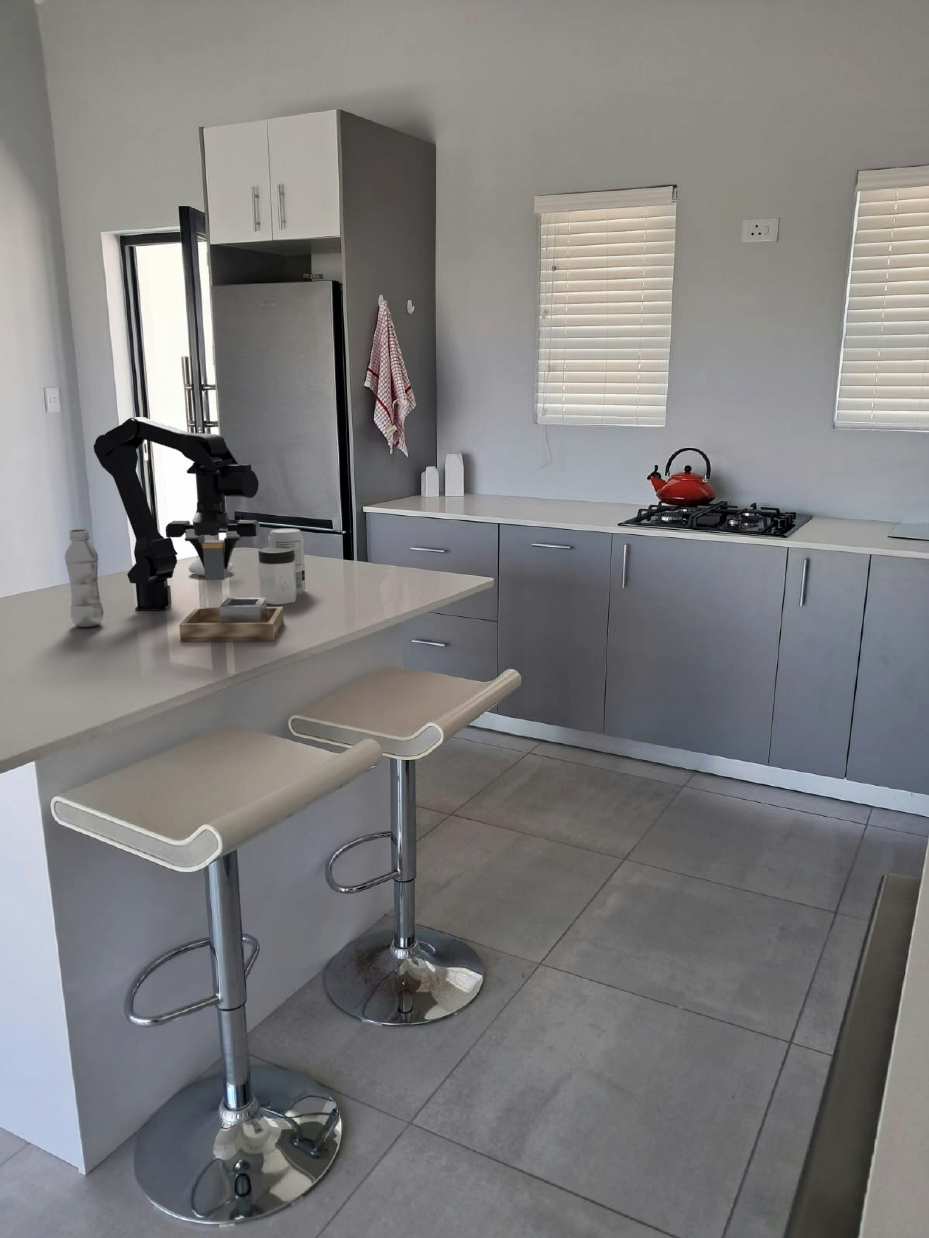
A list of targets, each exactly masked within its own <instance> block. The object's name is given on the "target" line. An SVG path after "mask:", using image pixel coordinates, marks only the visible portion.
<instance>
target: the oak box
mask: <svg viewBox="0 0 929 1238" xmlns="http://www.w3.org/2000/svg"><path fill="white" fill-rule="evenodd" d="M219 607H220V606H219ZM219 607H217V606H216V607H194V609H193V610H192V611H191V612H190V613H189V614H188V615H187V616H186V617H185V618H184V619H183V620H182V621H181V622H180V623H179V626H178V627H179V639H180V643H193V642H194V643H198V642H200V643H207V642H209V643H210V642H211V643H214V642H217V643H218V642H222V643H223V642H228V643H230V642H274V641H275V639H276V637H277V636H278V634H279V632H280V631H281V628H282V627H283V625H284V607H283V606H267V623H220V613H219Z"/></svg>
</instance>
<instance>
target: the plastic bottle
mask: <svg viewBox="0 0 929 1238" xmlns="http://www.w3.org/2000/svg"><path fill="white" fill-rule="evenodd" d="M89 540H90V533H89V529H86V528H77V529H74V528H73V529H70V530H69V541H70V544H69V546H68V547H67V549H66V551H65V554H64V560H65V565H66V569H67V573H68V578H69V583H70V596H71V597H70V601H71V602H70V613H69V615H70V619H71V623H72V624H73V625H75V627H81V628H91V627H95V626H99V625H101V624H102V623H103V621H104V616H105V615H104V614H105V611H104V606H103V603H102V602H101V596H100V590H99V583H98V581H99V580H98V579H99V577H98V570H99V554H98V552H97V550H96V548H95V547H94V546H93V545H92V543H90V542H89Z"/></svg>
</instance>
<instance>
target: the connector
mask: <svg viewBox="0 0 929 1238" xmlns="http://www.w3.org/2000/svg"><path fill="white" fill-rule="evenodd" d="M202 545H203V555H204V569H205V576H204V580H205V581H225V580H226V579H227V578H228V577H229V572H228V569H225V563H224V558H225V542H224V539H214V540H206V541H205V542H203V543H202Z"/></svg>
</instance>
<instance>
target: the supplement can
mask: <svg viewBox="0 0 929 1238" xmlns="http://www.w3.org/2000/svg"><path fill="white" fill-rule="evenodd" d="M267 540H268V541H267V542H268V547H289V548H293V549H294V554H295V568H296V592H297V595H299V594H302V593H303V592H304V591H306V571H305V570H306V569H305V567H306V566H305V546H304V544H305V542H304V541H305V540H304V536H303V533H302V532H301V529H300V528H299V529H298V528H290V527H289V528H284V527H283V528H275V529H271V530H270V532H269V534H268V537H267Z"/></svg>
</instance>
